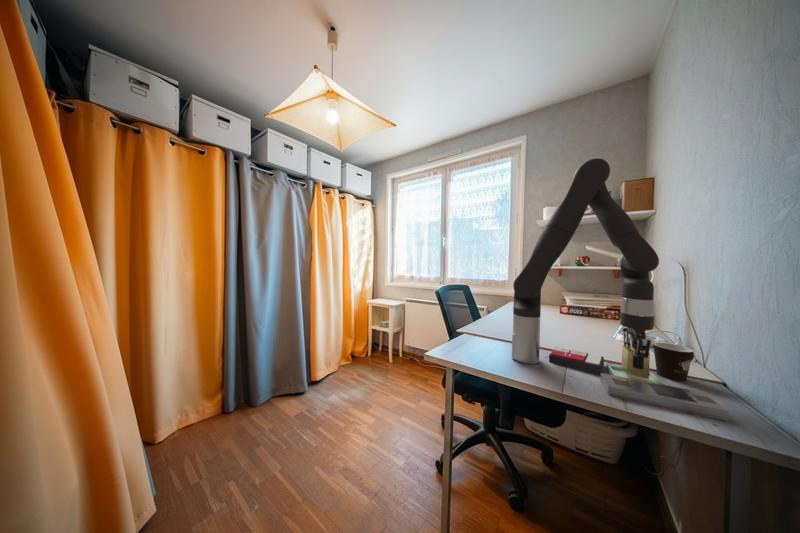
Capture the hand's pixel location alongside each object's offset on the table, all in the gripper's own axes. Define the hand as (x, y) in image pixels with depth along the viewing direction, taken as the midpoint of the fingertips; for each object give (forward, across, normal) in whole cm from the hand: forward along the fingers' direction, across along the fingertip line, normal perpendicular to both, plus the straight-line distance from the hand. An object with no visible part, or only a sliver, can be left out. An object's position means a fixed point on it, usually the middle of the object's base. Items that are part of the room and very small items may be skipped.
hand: (634, 364), depth 75 cm
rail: (+5, +11, +1) cm, 12 cm away
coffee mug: (+5, -9, +13) cm, 17 cm away
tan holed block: (+3, 0, 0) cm, 3 cm away
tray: (+5, 0, 0) cm, 5 cm away
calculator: (+6, -5, -14) cm, 16 cm away
